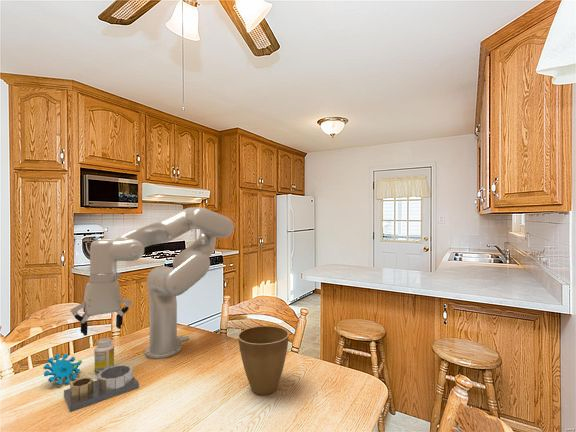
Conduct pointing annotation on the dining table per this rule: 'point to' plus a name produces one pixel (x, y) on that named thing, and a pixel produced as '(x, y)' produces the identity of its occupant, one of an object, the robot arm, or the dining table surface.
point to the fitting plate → (97, 395)
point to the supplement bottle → (103, 355)
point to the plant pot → (263, 356)
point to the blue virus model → (62, 369)
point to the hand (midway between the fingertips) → (102, 331)
